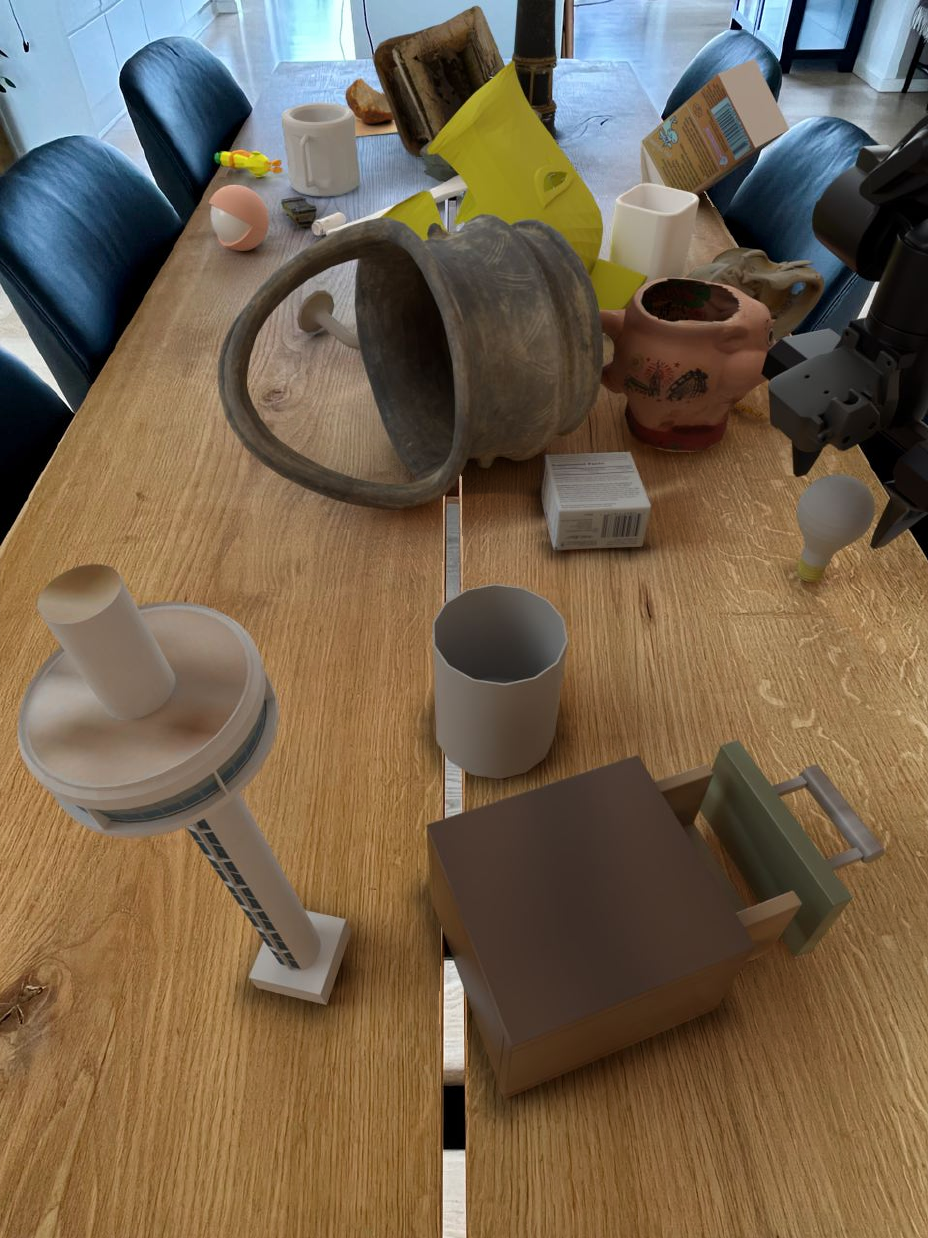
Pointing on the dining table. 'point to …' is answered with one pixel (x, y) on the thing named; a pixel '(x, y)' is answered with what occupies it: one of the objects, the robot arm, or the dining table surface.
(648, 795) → the cabinet
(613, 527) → the box
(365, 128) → the bread chunk
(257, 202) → the toy ball
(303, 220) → the dark green crate
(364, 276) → the ancient clay pot
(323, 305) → the toilet paper hanger
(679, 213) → the cup
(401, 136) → the brown square vessel
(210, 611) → the model tower
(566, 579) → the dining table surface
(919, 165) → the robot arm
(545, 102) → the black tall cylinder
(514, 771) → the cup
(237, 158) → the toy figure
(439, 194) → the spatula
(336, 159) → the mug
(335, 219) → the small white plastic part
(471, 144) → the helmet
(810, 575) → the light bulb
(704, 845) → the drawer
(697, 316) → the decorative planter
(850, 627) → the dining table surface
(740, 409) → the keychain
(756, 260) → the skull
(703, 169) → the milk carton
